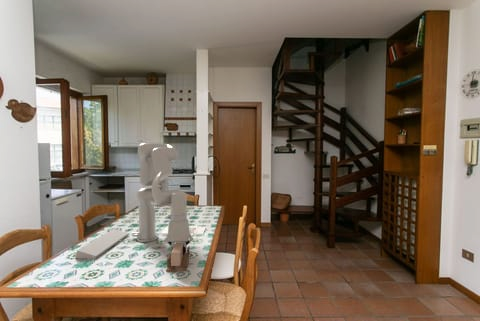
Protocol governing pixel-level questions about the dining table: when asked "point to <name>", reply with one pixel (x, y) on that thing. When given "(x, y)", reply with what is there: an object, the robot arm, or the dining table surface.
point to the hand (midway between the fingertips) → (179, 253)
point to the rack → (183, 263)
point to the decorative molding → (101, 244)
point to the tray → (192, 230)
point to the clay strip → (177, 254)
